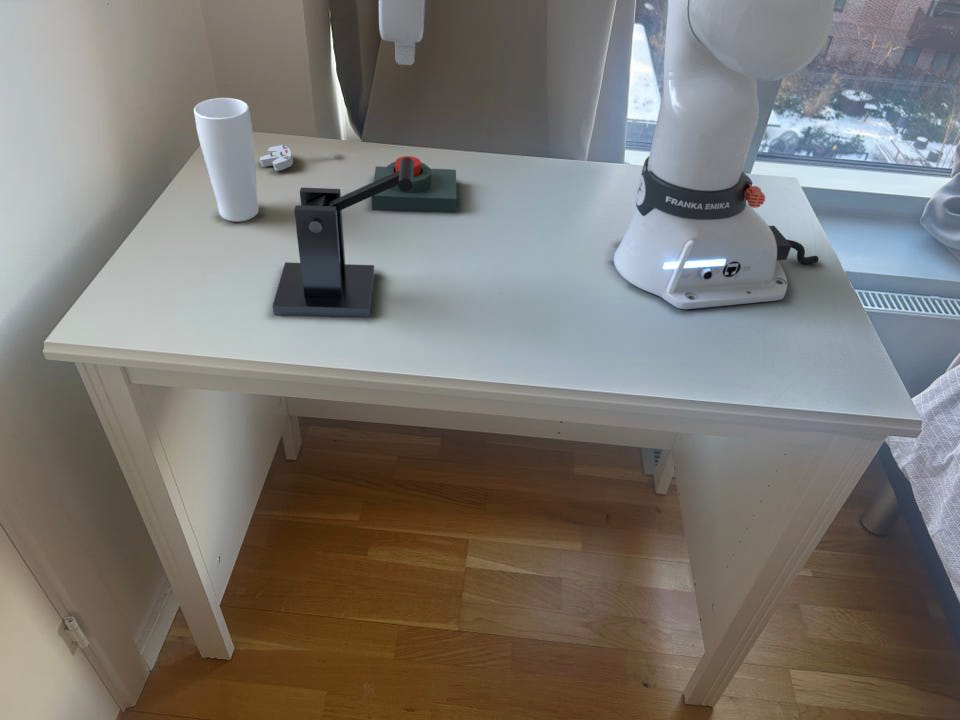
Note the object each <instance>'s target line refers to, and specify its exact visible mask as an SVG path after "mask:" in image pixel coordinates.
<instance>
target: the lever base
mask: <svg viewBox="0 0 960 720" xmlns="http://www.w3.org/2000/svg"><path fill="white" fill-rule="evenodd" d="M324 195H325V196H326V197H327V199H328V200H329V202H330V201H333V200H335V199H337V198H339V197H342V195H341V188H324V187H302V186H301V187H300V189H299V199H300V204H295V206H294V209H293V212H294V213H293V214H294V222H295V230H296V238H297V239H296V240H297V247H298V256H299V262H288V261H287V262H284V265H283V269H282V272H281V274H280V278H279V283H278V286H277V289H276V292H275V295H274V300H273V302H272V311H273V315H274V316H275V315H278V316H308V317H309V316H312V317H315V316H316V317H349V318H353V317H354V318H369V317H370V313H371V304H372V297H373V289H374V283H375V282H374V281H375V265H374V264H346V256H345V255H346V253H345V239H344V225H343V223H344V222H343V210H340V211H338V212H337V208H336V207H333V206H306V205H305V204H307V203H309V202H311V201H313V200H316V199H318V198H320V197H322V196H324Z"/></svg>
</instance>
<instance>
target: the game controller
mask: <svg viewBox="0 0 960 720" xmlns="http://www.w3.org/2000/svg"><path fill="white" fill-rule="evenodd" d="M267 152H268V154H265V155H263V156H260V157H259V162H260V165H261V167H263V168H266V167H271V166H273V169H274V171H275V172H279V171H282V170H285V169H288V168H289V167H292V166H293V164H294V158H295V157H297V158H298V157H300V156H301V155H303V154H304V155H305V152H304V153H300V154H299V155H294V156H293V155H292V151H291V149H290V148H289V147H288V146H287V145H285V144H284V143H282V144H280V145H274V146H270V147H268V148H267ZM308 154H310V155H312V153H311V152H310V153H309V152H308ZM328 155H329V153H327V154H326V155H324V156H323V158H325V157H326V156H328ZM335 155H337V156H338V154H335ZM313 157H315V158H316V156H315V155H313Z"/></svg>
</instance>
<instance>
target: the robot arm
mask: <svg viewBox="0 0 960 720" xmlns="http://www.w3.org/2000/svg"><path fill="white" fill-rule="evenodd" d="M836 2H837V0H667V14H666V26H665V27H666V28H665V39H664V55H663V59H664V60H663V78H662V92H661V98H660V105H659V109H658V115H657V119H656V124H655V127H654V128H655V129H654V132H653V137H652V142H651V147H650V150H649V151H650V152H649V155H648V156H647V158H646V159H645V160H644V163H643V166H642V170H641V174H640V176H639V179H638V183H637V186H636V187H637V188H636V193H635V207H634V210H633V213H632V217H631V219H630V222H629V224H628V226H627V230H626V232H625V234H624V235H623V237H622V240H621V241H620V243H619V245H618V247H617V248H616V250H615V252H614V254H613V264H614V267H615V269H616V270H617V272H618V273H619V274H620V275H621V277H622V278H623V279H625V280H626V281H627V282H628V283H630V284H631V285H633V286H635V287H637V288H639V289H640V290H643V291H645V292H647V293H650V294H653V295H656V296H658V297H660V298H662V299H663V300H664V301H666V302H667V303H668V304H670V305H671V306H673V307H675V308H677V309H680V310H692V309H704V308H715V307H724V306H735V305H744V304H755V303H756V304H757V303H764V302H766V303H767V302H775V301H781V300H783V299H785V297H786V293H787V290H788V279H787V275H786V272H785V270H784V269H783V266H782V265H781V263H780V262H779V261H786V260H788V256H789V254H790V251H791V249H794V250H795V251H796V260H797V262H798V263H800V264H801V265H811V264H817V263H818V262H819V257H818V256H817V255H811V256H805V255H806V250H805V247H804V246H803V244H801V243H800V242H799V241H795V240H792V239H787V238H785V236H784V234H782V232H781V231H780V230H779V229H778V228H777V227H776V226H775V225H769V224H768V223H767V222H766V221H765V219H764V218H763V216H761V215H760V214H759V213H758V212H757V211H756V210H755V209H757V208H760V207H761V206H763V205H764V202H766V195H765V193H763V192H762V190H761V188H760V187H759V186H757V185H753V181H752V179H751V178H750V176H749V175H747V174H746V173H745V172H743V169H744V167H745V164H746V162H747V157H748V154H749V151H750V148H751V145H752V141H753V139H754V135H755V132H756V129H757V126H758V123H759V119H760V118H759V116H760V103H759V102H760V101H759V98H758V97H759V96H758V81H763V82H774V81H779V80H784V79H786V78H789V77H791V76H793V75H795V74H797V73H799V72H800V71H802V70H803V69H805V67H807V66H808V65H809V64H810V63H811V62H813V60H814V59H815V58H817V56H818V55H819V54H820V52H821V51H822V49H823V48H824V46H825V44H826V42H827V41H828V38H829V35H830V33H831V30H832V27H833V21H834V10H835V5H836ZM425 13H426V0H378V28H379V34H380V35H379V36H380V38H381V40H383V41H385V42H392V43H393V42H394V46H395V47H394V51H395V52H394V54H395V56H394V57H395V59H394V60H395V62H396V64H398V65H402V66H412V65H413V64H414V63H415V56H416V43H420V42H421V41H422V40H423V36H424V30H425V29H424V28H425Z"/></svg>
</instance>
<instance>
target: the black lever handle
mask: <svg viewBox="0 0 960 720" xmlns="http://www.w3.org/2000/svg"><path fill="white" fill-rule="evenodd" d="M413 175H414V161H413V160H412V159H411V158H408V157H406V158H403V159H402V160H401V161H400V169H399V171H397V172H395V173H393V174H391V175H388V176H386V177H384V178H382V179H379V180H377V181H375V182H374V181H372V182H371V183H369V184H366V185H363V186H361V187H359V188H357V189H355V190H353V191H351V192H348V193H346V194H343V195H341V197H339V198H337V199H335V200H333V201H330V202H329V200H328V199H327V197H326V196H325V195H324V196H322V197H320V198H318V199H316V200H313V201H311V202H309V203H307V204H305V205H306V206H333V207H336V208H337V212H338V211H340V210H342V211H344V210H345V209H347V208H349V207H351V206H352V207H353V206H354V205H357V204H358V203H360V202H362V201H365V200H367V199H369V198H370V199H371V197H372V196H374V195H376V194H379V193H381V192H383V191H385V190H388V189H390V188H392V187H394V186H397V185H398V187H399V189H400V190H401V191H403V192H408V191H410V190H411V189H412V187H413Z"/></svg>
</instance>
